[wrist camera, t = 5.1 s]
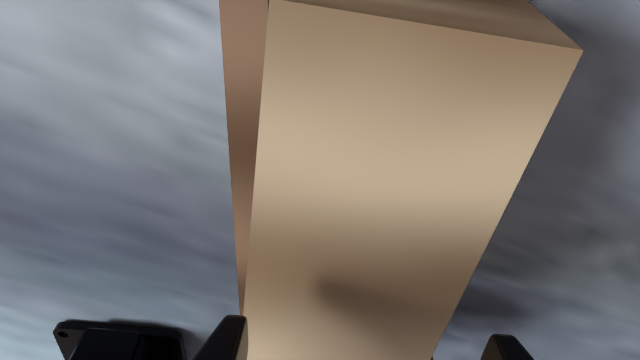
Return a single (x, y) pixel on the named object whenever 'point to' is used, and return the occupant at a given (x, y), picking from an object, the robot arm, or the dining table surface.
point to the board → (388, 165)
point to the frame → (243, 111)
